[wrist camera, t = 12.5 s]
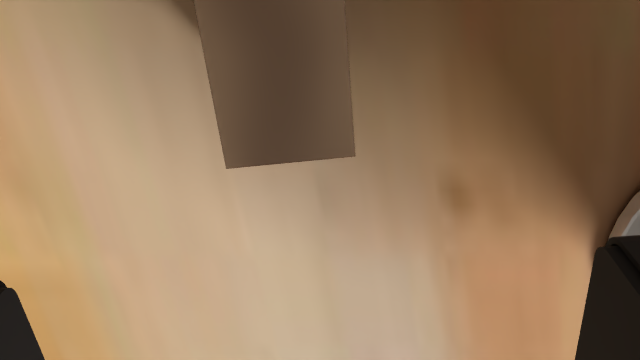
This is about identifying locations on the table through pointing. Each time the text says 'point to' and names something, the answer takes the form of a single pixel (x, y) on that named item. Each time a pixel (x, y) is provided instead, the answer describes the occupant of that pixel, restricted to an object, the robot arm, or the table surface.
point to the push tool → (278, 79)
